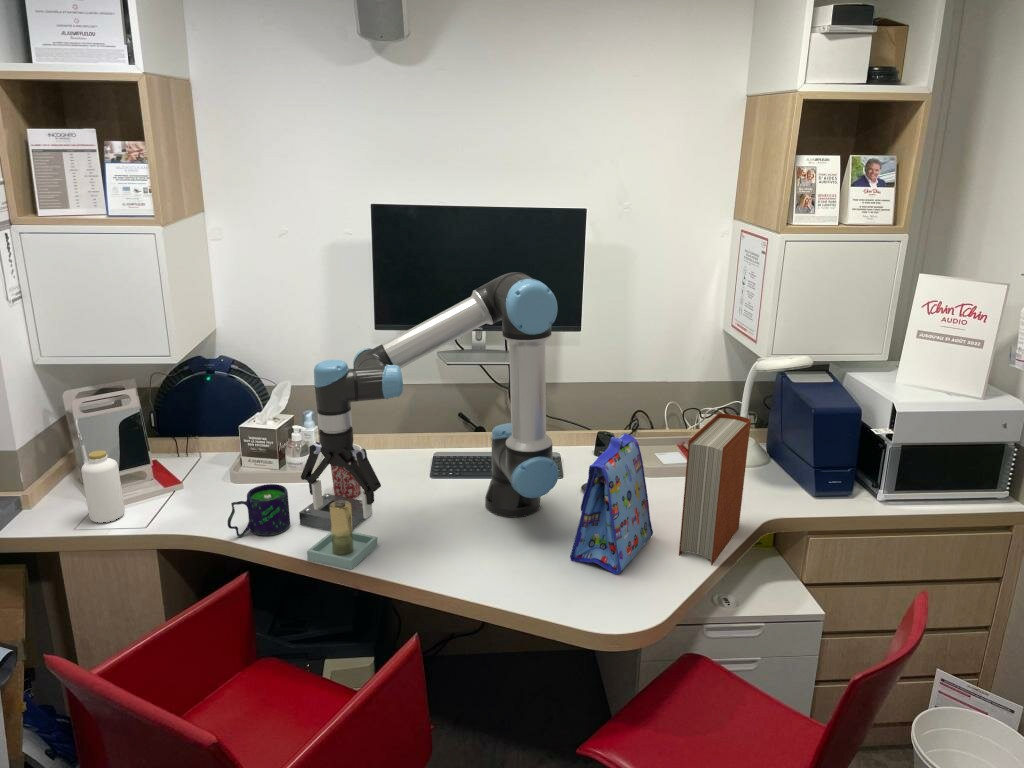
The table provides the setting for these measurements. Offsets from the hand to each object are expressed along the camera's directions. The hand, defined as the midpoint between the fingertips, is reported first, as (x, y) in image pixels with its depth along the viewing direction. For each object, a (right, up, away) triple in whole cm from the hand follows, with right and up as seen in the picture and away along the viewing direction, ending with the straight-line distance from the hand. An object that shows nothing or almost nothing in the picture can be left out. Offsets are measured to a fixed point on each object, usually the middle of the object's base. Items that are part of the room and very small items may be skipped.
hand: (343, 511), depth 183 cm
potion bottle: (-66, -5, +19) cm, 69 cm away
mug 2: (-6, 0, +36) cm, 36 cm away
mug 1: (-24, -7, +14) cm, 29 cm away
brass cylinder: (-1, -10, +3) cm, 10 cm away
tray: (-1, -10, +3) cm, 11 cm away
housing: (-6, -5, +19) cm, 21 cm away
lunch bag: (+65, -10, +7) cm, 66 cm away
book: (+90, -9, +11) cm, 91 cm away
